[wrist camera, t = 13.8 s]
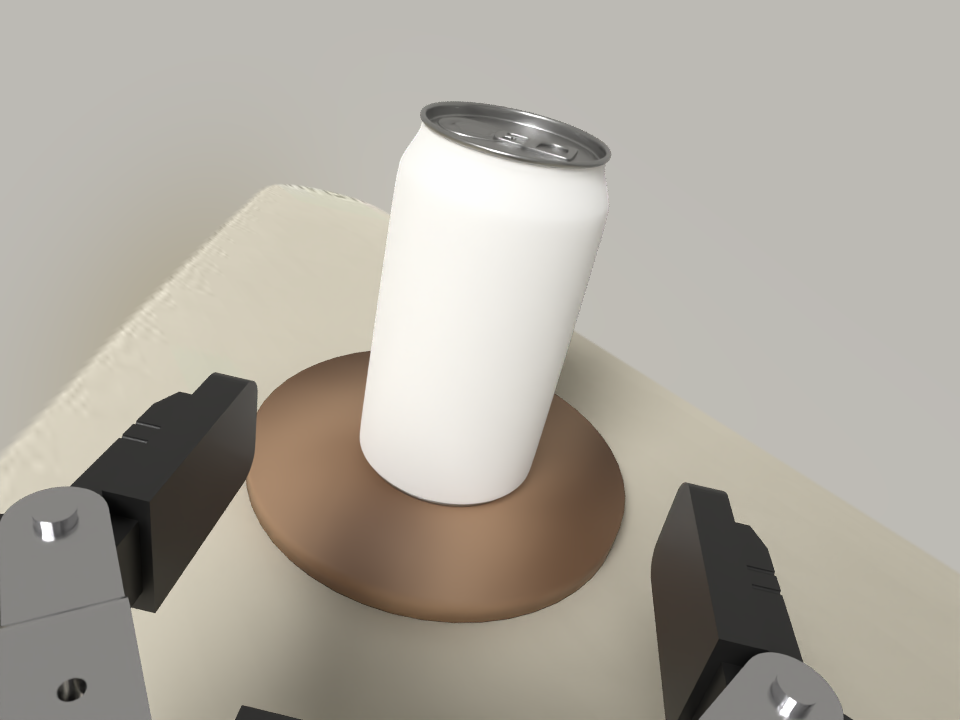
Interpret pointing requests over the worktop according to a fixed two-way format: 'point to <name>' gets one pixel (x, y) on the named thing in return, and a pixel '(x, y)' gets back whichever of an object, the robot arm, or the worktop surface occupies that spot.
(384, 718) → the worktop surface
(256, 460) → the disc
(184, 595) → the worktop surface
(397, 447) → the can
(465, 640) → the worktop surface
